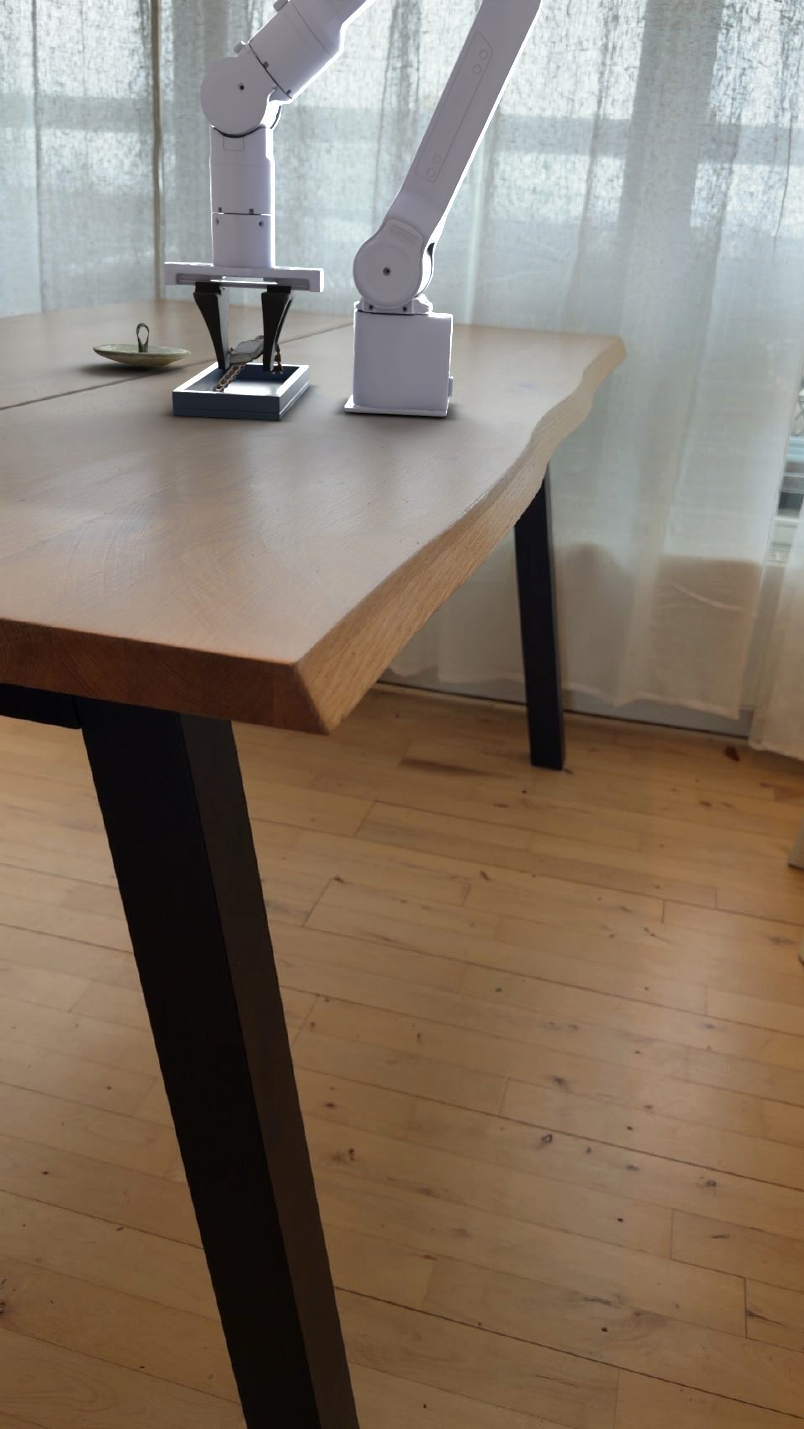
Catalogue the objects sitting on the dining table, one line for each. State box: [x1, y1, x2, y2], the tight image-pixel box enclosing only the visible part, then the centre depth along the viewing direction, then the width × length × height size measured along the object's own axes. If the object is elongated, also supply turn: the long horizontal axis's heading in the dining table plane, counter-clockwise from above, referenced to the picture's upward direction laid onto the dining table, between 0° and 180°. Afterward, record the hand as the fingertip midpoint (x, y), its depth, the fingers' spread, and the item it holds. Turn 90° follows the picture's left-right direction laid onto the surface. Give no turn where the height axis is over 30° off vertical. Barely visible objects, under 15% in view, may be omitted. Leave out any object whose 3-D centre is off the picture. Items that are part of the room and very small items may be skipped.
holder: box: [171, 361, 310, 421], centre depth 110 cm, size 20×10×2 cm, turn 177°
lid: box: [92, 322, 192, 368], centre depth 126 cm, size 11×10×5 cm
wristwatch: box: [209, 334, 283, 392], centre depth 110 cm, size 4×14×5 cm, turn 162°
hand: (245, 369), depth 109 cm, fingers closed on wristwatch, 4 cm apart
